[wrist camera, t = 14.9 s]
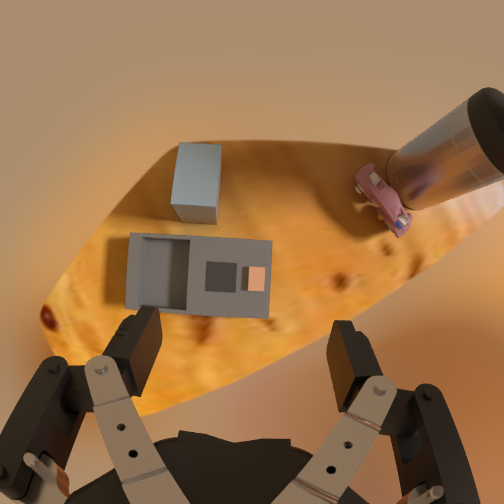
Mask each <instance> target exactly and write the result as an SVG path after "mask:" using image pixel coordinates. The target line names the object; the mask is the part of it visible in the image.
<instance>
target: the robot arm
mask: <svg viewBox="0 0 504 504" xmlns="http://www.w3.org/2000/svg"><path fill="white" fill-rule="evenodd" d="M387 177H388V181H389V184H390V187H391V188H392V189H393V190H394V191H396V193H397V194H398V196H399V199H400V202H401V203H402V204H404V205H405V206H407V207H408V208H411V209H414V210H422V209H425V208H428V207H431V206H433V205H436V204H439V203H442V202H445V201H447V200H450V199H453V198H455V197H458V196H461V195H464V194H466V193H469V192H472V191H474V190H477V189H480V188H482V187H485V186H488V185H490V184H493V183H495V182H498V181H500V180H503V179H504V94H503V93H502V92H500V91H498V90H496V89H494V88H489V87H487V88H483V89H481V90H479V91H478V92H477V93H475V94H474V95H472V96H471V97H470V98H468V99H467V100H466V101H464V102H463V103H462V104H460V105H459V106H458V107H456V108H455V109H454V110H452V111H451V112H450V113H448V114H447V115H446V116H444V117H443V118H442V119H440V120H439V121H437V122H436V123H435V124H433V125H432V126H431V127H429V128H428V129H427V130H425V131H424V132H423V133H421V134H420V135H418V136H417V137H416V138H414V139H413V140H412V141H410V142H409V143H407V144H406V145H405V146H403V147H402V148H401V149H399V150H398V151H397V152H395V153H394V154H393V155H392V156H391V157H390V159H389V161H388V165H387ZM161 344H162V328H161V321H160V314H159V309H158V308H157V307H150V306H141V307H140V309H139V311H138V312H137V314H136V315H130V316H128V317H127V318H126V319H124V320H123V321H122V323H121V324H120V326H119V328H118V329H117V331H116V332H115V335H114V336H113V337H112V339H111V341H110V342H109V344H108V346H107V347H106V349H105V351H104V352H103V354H102V355H100V356H96V357H93V358H91V359H90V360H89V361H88V362H87V363H86V365H81V366H68V363H67V361H66V360H65V359H64V358H63V357H60V356H52V357H49V358H47V359H45V360H44V361H43V362H42V363H41V365H40V366H39V368H38V369H37V371H36V372H35V374H34V376H33V377H32V379H31V381H30V382H29V384H28V386H27V387H26V389H25V391H24V392H23V394H22V396H21V398H20V399H19V401H18V403H17V405H16V406H15V408H14V410H13V412H12V413H11V415H10V417H9V419H8V421H7V423H6V425H5V427H4V428H3V430H2V433H1V434H0V492H2V493H3V494H4V495H5V496H6V497H7V498H9V499H10V500H12V501H13V502H15V503H16V504H369V503H367V502H366V501H365V500H364V499H363V498H362V497H360V496H359V495H358V494H357V493H356V492H355V491H353V490H352V489H351V488H350V487H349V486H348V485H349V483H350V482H351V480H352V479H353V477H354V476H355V474H356V472H357V471H358V469H359V468H360V466H361V464H362V463H363V460H364V459H365V457H366V456H367V454H368V452H369V450H370V449H371V447H372V445H373V443H374V441H375V440H376V438H377V436H378V434H382V435H389V436H390V438H391V442H392V446H393V451H394V455H395V461H396V466H397V471H398V476H399V481H400V486H401V492H402V498H401V499H400V500H399V501H398V502H397V503H396V504H480V500H479V496H478V492H477V488H476V485H475V482H474V479H473V475H472V472H471V468H470V465H469V462H468V459H467V456H466V453H465V450H464V448H463V445H462V442H461V439H460V437H459V434H458V431H457V429H456V426H455V424H454V421H453V418H452V416H451V413H450V411H449V409H448V406H447V404H446V402H445V399H444V397H443V395H442V393H441V391H440V390H439V389H438V388H437V387H436V386H433V385H431V384H421V385H419V386H418V387H417V388H416V389H415V391H408V390H401V389H398V388H396V386H395V384H394V383H393V381H392V380H390V379H389V378H386V377H384V376H383V374H382V371H381V369H380V366H379V364H378V361H377V359H376V356H375V354H374V352H373V349H372V348H371V344H370V342H369V340H368V338H367V337H366V336H365V335H364V334H363V333H362V332H361V331H355V329H354V326H353V324H352V322H351V321H346V320H335V321H334V323H333V326H332V330H331V334H330V337H329V341H328V345H327V352H326V354H327V361H328V365H329V370H330V374H331V379H332V383H333V388H334V391H335V397H336V401H337V406H338V410H339V412H345V413H344V415H343V416H342V418H341V419H340V421H339V422H338V423H337V425H336V426H335V428H334V429H333V430H332V432H331V433H330V435H329V436H328V438H327V439H326V440H325V441H324V443H323V444H322V445H321V447H320V448H319V449H318V451H317V452H316V453H315V455H312V454H311V453H309V452H307V451H305V450H302V449H300V448H297V447H293V446H291V442H290V439H257V440H251V441H244V442H237V443H233V442H229V441H226V440H223V439H219V438H216V437H213V436H210V435H207V434H202V433H194V432H188V431H181V430H180V431H179V434H178V437H173V438H167V439H163V440H160V441H158V442H155V443H152V441H151V439H150V437H149V435H148V433H147V431H146V429H145V427H144V425H143V423H142V421H141V419H140V417H139V415H138V413H137V410H136V408H135V406H134V404H133V402H132V400H131V397H132V395H133V396H137V397H141V395H142V392H143V389H144V387H145V384H146V382H147V379H148V377H149V374H150V372H151V369H152V367H153V364H154V362H155V359H156V357H157V354H158V352H159V349H160V347H161ZM86 412H94V413H95V416H96V419H97V422H98V425H99V428H100V431H101V434H102V436H103V439H104V442H105V444H106V447H107V450H108V452H109V455H110V457H111V460H112V462H113V464H114V467H115V468H114V469H112V470H110V471H109V472H107V473H106V474H104V475H102V476H101V477H99V478H97V479H95V480H94V481H92V482H90V483H89V484H87V485H85V486H83V487H82V488H80V489H78V490H76V491H74V492H73V493H72V494H69V478H68V476H67V474H66V473H65V472H64V470H65V467H66V464H67V461H68V458H69V455H70V453H71V450H72V447H73V445H74V442H75V439H76V437H77V434H78V432H79V429H80V427H81V424H82V421H83V419H84V417H85V414H86Z"/></svg>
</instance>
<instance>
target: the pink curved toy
mask: <svg viewBox="0 0 504 504" xmlns="http://www.w3.org/2000/svg"><path fill="white" fill-rule="evenodd" d="M375 169H376V165H375V164H374V163H368V164H366V165H364V166H363V167H361V169H360V170H359V171H358V173H357V174H355V175H354V176H353V177H354V179H355V181H356V182H357V186H358V188H357V187H356V186H355V190H356V191H357V192H358V193H359V194H362V193H361V192H363V193H364V195H365V196H366V197H367V199H368V200H369V201H370V202H371V203H373V202H374V201H376V202H377V204H378V205H379V207H378V208H377V209H376V211H377V213H378V214H379V215H378V218H379V219H380V220H383V221H384V222H385V223H386V224H387V226H388V228H389V229H390V230H391V231H392V232H393V233H394V234H395V236H396V237H397V238H399V237H401V236H402V235H403V234H405V233H406V231H407V230H408V229H409V227H410V225H411V222H412V215H411V214H410V213H406V211H405V210H404V208H403V206H402V204H401V202H400V199H399V196H398V194H397V193H396V191H394V190H393V189H392V188H391V187H390V186H388V185H387V184H386V183H385V181H384V180H383V179H382V178H381V176H380V175H379V174H378V173H377V172H376V171H375ZM360 191H361V192H360Z"/></svg>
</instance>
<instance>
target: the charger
mask: <svg viewBox="0 0 504 504" xmlns="http://www.w3.org/2000/svg"><path fill="white" fill-rule="evenodd" d="M221 174H222V145H219V144H203V143H181V142H180V143H179V148H178V154H177V160H176V166H175V173H174V180H173V187H172V195H171V203H170V204H171V206H172V207H173V209H174V210H175V212H176V213H177V215H178V216H179V218H180V219H181V221H182V222H187V223H201V224H215V225H217V218H218V207H219V196H220V186H221Z"/></svg>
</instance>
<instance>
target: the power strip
mask: <svg viewBox="0 0 504 504" xmlns="http://www.w3.org/2000/svg"><path fill="white" fill-rule="evenodd" d="M271 261H272V241H267V240H252V239H236V238H220V237H204V236H187V235H169V234H151V233H132V232H130V237H129V248H128V260H127V275H126V296H125V309H133V310H139V309H140V307H141V306H150V307H157V308H158V309H159V312H164V313H176V314H189V315H203V316H220V317H241V318H269V301H270V282H271Z"/></svg>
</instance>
